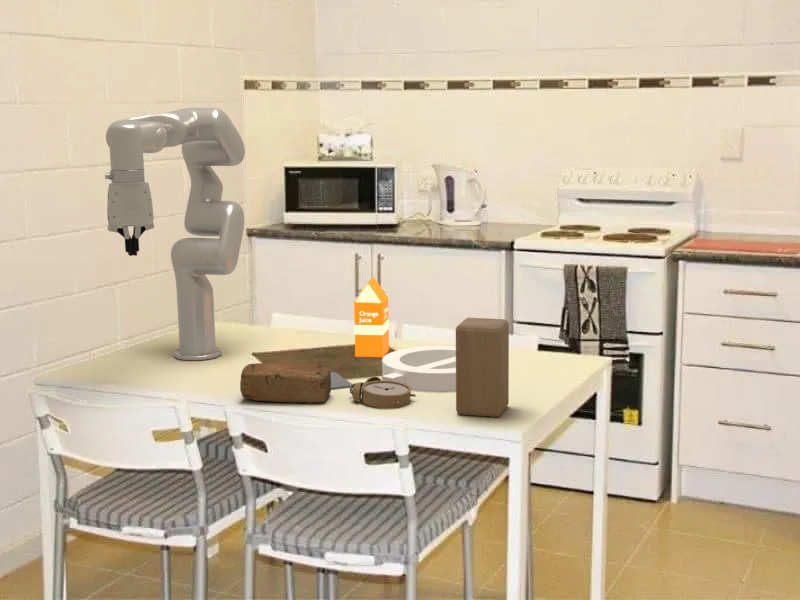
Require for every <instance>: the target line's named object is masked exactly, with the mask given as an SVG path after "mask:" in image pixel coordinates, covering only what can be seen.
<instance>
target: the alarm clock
mask: <svg viewBox="0 0 800 600" xmlns="http://www.w3.org/2000/svg"><path fill="white" fill-rule="evenodd" d="M411 391H412V390H411V388H410V387H409V386H408V385H406V384H404V383H400V382H395V381H386V380H382V378H380V377H378V376H370V377H369V378H367V379H366V380H365V382H361V381H359V382H356V383H352V385H350V387H349V393H350V394H351V395H352V399H353V401H354V402H355V403H357V404H360V401H361V403H363V404H364V405H366V406H369V407H373V408H377V409H396V408H402V407H406V406H407V405H409V404H410V403H411V397H412V398H413V397H416V396H417V395H416V394H414V393H411ZM359 400H360V401H359Z"/></svg>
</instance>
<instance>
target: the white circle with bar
mask: <svg viewBox="0 0 800 600" xmlns="http://www.w3.org/2000/svg"><path fill="white" fill-rule="evenodd" d="M381 367H382V371H381V372H382V373H381V374H382V376H381V380H386V381H395V382H400V383H404V384H406V385H408V386H409V387H410V388H411V391H417V392H433V393H435V392H438V393H440V392H443V393H444V392H445V393H446V392H447V393H448V392H456V345H455V346H454V345H426V346H424V345H423V346H414V347H408V348H407V347H406V348H403V349H398V350H395V351H392V352H388V353H386V354H385V356H384V357H382V359H381Z"/></svg>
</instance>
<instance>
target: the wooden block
mask: <svg viewBox="0 0 800 600" xmlns="http://www.w3.org/2000/svg"><path fill="white" fill-rule="evenodd" d="M509 328H510V323H509V321H508V320H507V319H504V318H487V317H486V318H485V317H483V318H482V317H467V318H465V319H463V320H462V321H461V322H460V323H459V324H458V325H456V328H455V346H456V391H455V411H456V414H458V415H460V414H462V416H473V415H475V417H487V416H490V418H498V416H499V417H501V416H502V414H503V413H504V411H505V409H506V408H508V405H509V403H510V402H509V401H510V400H509V398H510V397H509V396H510V395H509V389H510V388H509V386H510V385H509V384H510V383H509V378H510V377H509V373H510V372H509V371H510V369H509V366H510V365H509V363H510V361H509V360H510V357H509V356H510V355H509V354H510V353H509V351H510V350H509V349H510V347H509V346H510V345H509V344H510V340H509V337H510V336H509V335H510V329H509Z"/></svg>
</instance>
